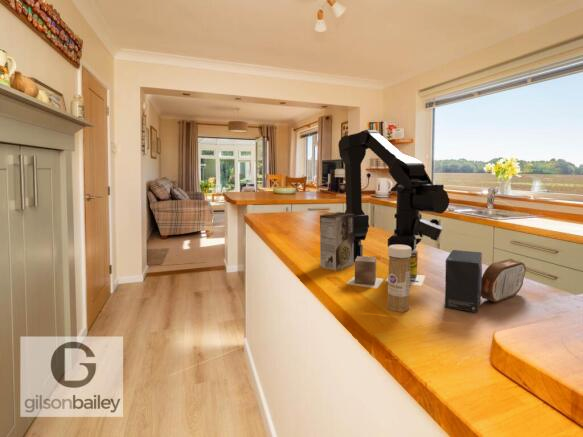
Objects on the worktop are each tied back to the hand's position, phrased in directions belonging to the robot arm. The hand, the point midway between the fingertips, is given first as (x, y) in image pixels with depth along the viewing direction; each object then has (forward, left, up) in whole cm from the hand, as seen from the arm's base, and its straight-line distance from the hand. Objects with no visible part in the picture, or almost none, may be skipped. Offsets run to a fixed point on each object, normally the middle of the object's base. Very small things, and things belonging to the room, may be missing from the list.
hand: (406, 267), depth 91 cm
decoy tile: (-9, -7, -3) cm, 12 cm away
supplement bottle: (0, 0, -3) cm, 3 cm away
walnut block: (-9, -7, -3) cm, 12 cm away
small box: (+14, -12, -3) cm, 19 cm away
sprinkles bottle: (+2, -21, -3) cm, 21 cm away
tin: (+22, -5, -3) cm, 23 cm away
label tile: (0, 0, -3) cm, 3 cm away
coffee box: (-21, +4, -3) cm, 22 cm away
